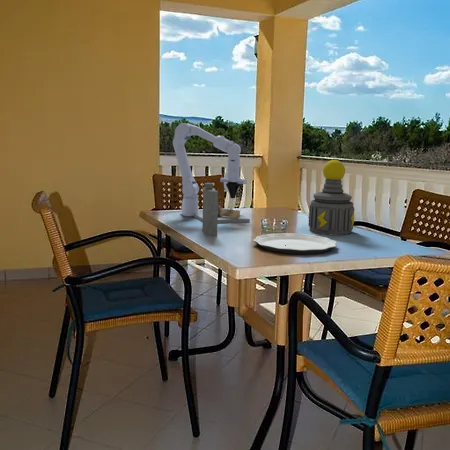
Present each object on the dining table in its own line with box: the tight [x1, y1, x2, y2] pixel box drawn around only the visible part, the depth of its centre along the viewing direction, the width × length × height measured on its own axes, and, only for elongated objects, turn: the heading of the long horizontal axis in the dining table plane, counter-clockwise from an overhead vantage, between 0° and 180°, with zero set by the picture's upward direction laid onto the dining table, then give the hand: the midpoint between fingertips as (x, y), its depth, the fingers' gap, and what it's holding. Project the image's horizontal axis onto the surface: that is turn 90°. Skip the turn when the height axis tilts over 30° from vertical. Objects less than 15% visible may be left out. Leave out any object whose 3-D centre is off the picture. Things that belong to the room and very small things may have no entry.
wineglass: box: [223, 170, 241, 210], centre depth 260 cm, size 9×9×21 cm
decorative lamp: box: [307, 159, 355, 236], centre depth 216 cm, size 19×19×30 cm
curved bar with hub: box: [218, 204, 241, 218], centre depth 240 cm, size 19×5×5 cm, turn 57°
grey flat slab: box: [193, 212, 251, 224], centre depth 243 cm, size 20×22×2 cm
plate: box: [252, 232, 338, 255], centre depth 186 cm, size 29×29×2 cm
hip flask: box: [201, 182, 219, 237], centre depth 207 cm, size 16×4×20 cm, turn 14°
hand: (232, 198), depth 247 cm, fingers closed
